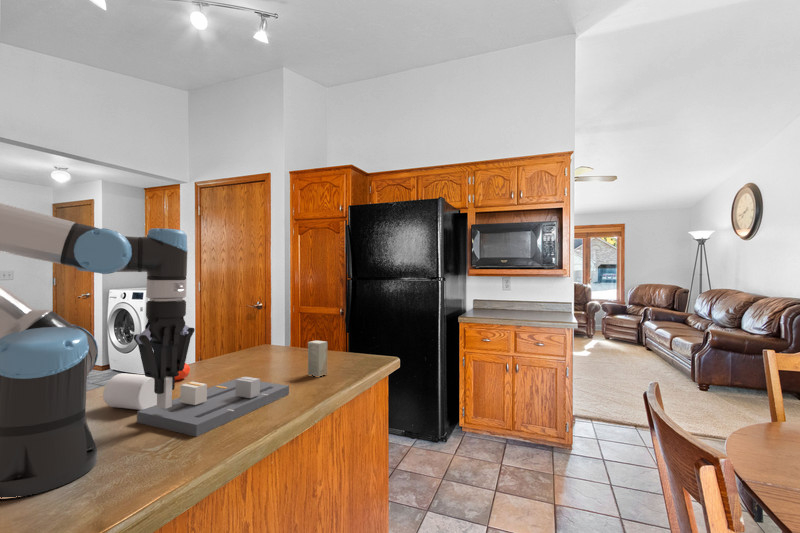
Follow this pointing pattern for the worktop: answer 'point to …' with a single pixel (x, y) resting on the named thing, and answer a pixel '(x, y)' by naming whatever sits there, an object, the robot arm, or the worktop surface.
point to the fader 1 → (193, 393)
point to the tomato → (183, 372)
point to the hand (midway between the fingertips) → (164, 406)
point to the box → (317, 358)
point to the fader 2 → (247, 387)
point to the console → (210, 409)
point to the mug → (130, 392)
